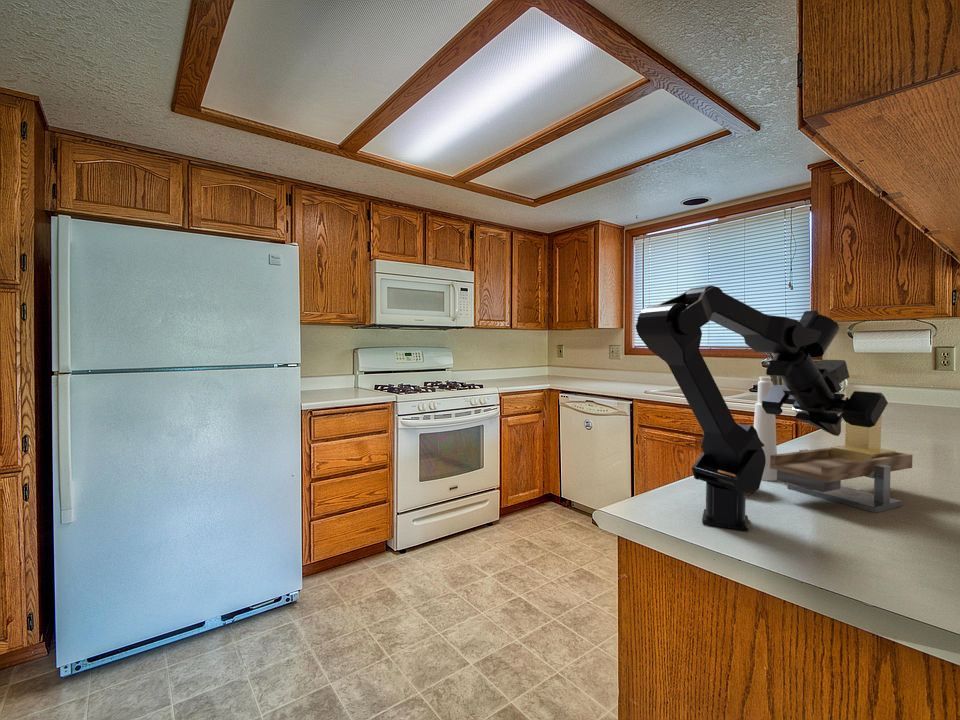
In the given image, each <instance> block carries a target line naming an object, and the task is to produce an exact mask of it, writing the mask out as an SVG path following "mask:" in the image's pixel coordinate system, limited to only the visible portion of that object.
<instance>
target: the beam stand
mask: <svg viewBox="0 0 960 720" xmlns="http://www.w3.org/2000/svg"><path fill="white" fill-rule="evenodd" d="M807 450H808V449H799V451H807ZM799 451H798V452H799ZM890 471H891V466H888V465H883V464H879V465H875V473H874V478H873V480H874V482H873V487H874V489H873V493H871V492H868V491H864V490H859V489H855V488H851V487H847V486H843V485H841V488H840V489H838V490H832V491H827V492H820V491H816V490H812V489H809V488H805V487H801V486H797V485H794V484H790V483H787V489H788V490H791V489H792V491H795V492H799V493H801V494H802V493H803V494H806V495H809V494H810V496H813V497H817V498H821V499H825V500H827V499H828V501H831V502H836V503H839V504H842V505H845V504H847V505H846V506H849V505H850V506H849V507H852V506H854V507H853V508H856V507H857V509H860V508H861V509H860V510H863V509H864V511H866V512H870V511H871V513H873V514H874V513H876V512H877V513H881V512H883V511H888V510H892V509H896V508H901V507H902V500H900V499H896V498H892V497H891V472H892V471H891V472H890ZM877 513H876V514H877Z"/></svg>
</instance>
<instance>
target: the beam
mask: <svg viewBox="0 0 960 720" xmlns="http://www.w3.org/2000/svg"><path fill="white" fill-rule="evenodd" d="M806 450H807V451H793V452H785V453H784V452H783V453H777V454H775V455H770V468H771V469H775V470H777V481H779V482H783V483H786V484H788V483H790V484H794V485H797V486H801V487H805V488H809V489H812V490H816V491H820V492H827V491H832V490H838V489H840V488H841V486H842V484H841V482H842V481H844V480H850V479H855V478H856V479H857V478H862V477H865V478H870V479H874V473H875V465H879V464H883V465H888V466H891V471H890V473H891V472H896V471H901V470H902V471H903V470H907V469H913V454H909V453H903V452H898V451H896V455H894V456H888V457H881V458H874V459H868V460H861V461H854V462H853V461H848V460H843V459H837V458H832V457H830V450H831V447H824V448H823V447H822V448H817V449H806Z"/></svg>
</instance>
